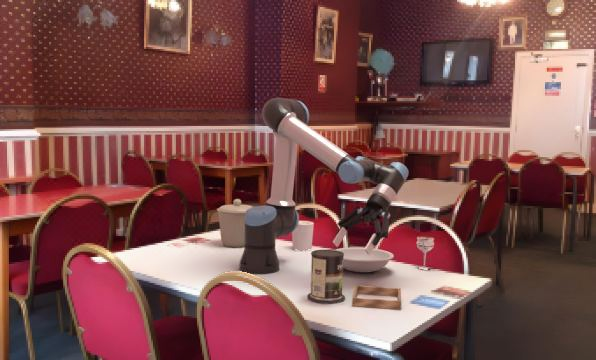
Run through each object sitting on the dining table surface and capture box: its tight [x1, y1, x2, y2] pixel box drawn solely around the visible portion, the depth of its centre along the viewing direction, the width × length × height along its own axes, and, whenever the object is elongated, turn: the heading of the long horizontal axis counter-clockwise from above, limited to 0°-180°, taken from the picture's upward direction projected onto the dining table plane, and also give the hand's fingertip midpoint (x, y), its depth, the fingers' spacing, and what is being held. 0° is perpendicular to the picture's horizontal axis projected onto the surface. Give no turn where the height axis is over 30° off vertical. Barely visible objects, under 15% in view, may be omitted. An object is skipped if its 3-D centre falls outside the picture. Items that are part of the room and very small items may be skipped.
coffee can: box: [310, 249, 344, 301], centre depth 182 cm, size 10×10×14 cm
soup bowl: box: [334, 246, 394, 273], centre depth 219 cm, size 24×24×7 cm
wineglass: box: [416, 236, 435, 268], centre depth 225 cm, size 7×7×12 cm
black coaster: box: [306, 292, 346, 305], centre depth 183 cm, size 12×12×1 cm
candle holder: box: [291, 220, 315, 250], centre depth 255 cm, size 10×10×12 cm
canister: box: [216, 198, 254, 248], centre depth 260 cm, size 18×18×21 cm
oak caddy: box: [351, 285, 402, 311], centre depth 181 cm, size 15×15×2 cm
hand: (350, 248), depth 190 cm, fingers open, 13 cm apart
